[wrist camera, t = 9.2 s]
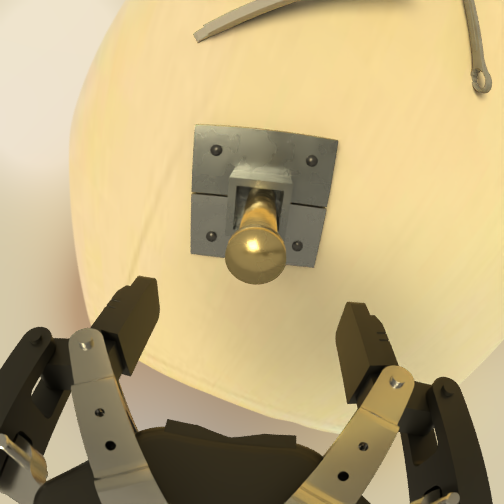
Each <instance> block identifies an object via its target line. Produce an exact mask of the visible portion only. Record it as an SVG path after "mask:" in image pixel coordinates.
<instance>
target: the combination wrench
mask: <svg viewBox="0 0 504 504" xmlns="http://www.w3.org/2000/svg"><path fill="white" fill-rule="evenodd" d="M464 5H465V10H466V15H467V20H468V26H469V33H470V40H471V49H472V60H473V67H472V71H471V77H472V81H473V82H472V85H473V87H474V88H475V90H477V91H478V92H481V93H488V92H489V91H490V90H491V87H492V79H491V76H490V74H489V72H488V70H487V67H486V64H485V60H484V54H483V46H482V39H481V32H480V27H479V21H478V16H477V12H476V7H475V3H474V0H464ZM480 71H481V72H483V74H484V76H485V86H484V88H482V89H481V88H480V87H479V85H478V83H477V75H478V72H480Z"/></svg>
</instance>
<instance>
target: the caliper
mask: <svg viewBox="0 0 504 504" xmlns="http://www.w3.org/2000/svg"><path fill="white" fill-rule="evenodd" d="M297 1H300V0H255V1H253V2H251V3H248V4H246V5H244V6H241V7H239V8H237V9H235V10H233V11H230V12H228V13H226V14H224V15H222V16H220V17H218V18H216V19H214V20H212V21H210V22H208V23H207V24H205V25H203V26H204V27H203V28H201V29H200V30H198V31H196V32H195V33H194V34H193V35H194V37H195V39H196V41H197V43H198V42H200V41H202V40H204V39H206V38H208V37H209V36H213V35H215V34H218V33H220V32H222V31H225V30H227V29H229V28H231V27H233V26H236V25H238V24H240V23H242V22H244V21H247V20H249V19H251V18H254V17H256V16H258V15H261V14H263V13H266V12H268V11H271V10H274V9H276V8H279V7H282V6H285V5H287V4H290V3H293V2H297Z"/></svg>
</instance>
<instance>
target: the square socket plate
mask: <svg viewBox="0 0 504 504" xmlns="http://www.w3.org/2000/svg"><path fill="white" fill-rule="evenodd" d="M337 146H338V140H334V139H329V138H323V137H317V136H311V135H305V134H299V133H292V132H284V131H276V130H268V129H259V128H248V127H237V126H223V125H204V124H196V125H195V132H194V148H193V168H192V192H193V193H192V195H191V254H197V255H206V256H214V257H223V258H225V252H226V248H227V245H228V242H229V240H230V238H231V236H232V235H233V234H234V233H235V232H236V231H237V230H238V229H239V228H240V224H241V220H242V216H243V212H244V208H245V205H246V201H247V197H248V194H249V192H250V190H251V189H253V188H263V189H271V190H272V191H273V193H274V195H275V204H276V220H277V233H278V234H279V235H280V236H281V238H282V239H283V241H284V244H285V249H286V264H285V265H294V266H303V267H312V268H314V265H315V260H316V256H317V252H318V247H319V242H320V238H321V233H322V228H323V223H324V219H325V214H326V208H325V207H327V203H328V198H329V193H330V187H331V182H332V176H333V170H334V164H335V158H336V152H337Z"/></svg>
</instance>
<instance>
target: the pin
mask: <svg viewBox="0 0 504 504" xmlns="http://www.w3.org/2000/svg"><path fill="white" fill-rule="evenodd" d="M225 261H226V265H227V267H228V269H229V271H230V272H231V273H232V275H234V276H235V277H236V278H237V279H239V280H241V281H243V282H245V283H249V284H264V283H268V282H270V281H272V280H274V279H275V278H277V277H278V276H279V275H280V274H281V272H282V271H283V269H284V267H285V264H286V249H285V244H284V241H283V239H282V238H281V236H280V235H279V234H278V233H277V220H276V204H275V195H274V193H273V191H272V190H271V189H263V188H253V189H251V190H250V192H249V194H248V197H247V201H246V205H245V208H244V212H243V216H242V220H241V224H240V228H239V229H238V230H237V231H236V232H235V233H234V234H233V235H232V236H231V238H230V240H229V242H228V245H227V248H226V252H225Z"/></svg>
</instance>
